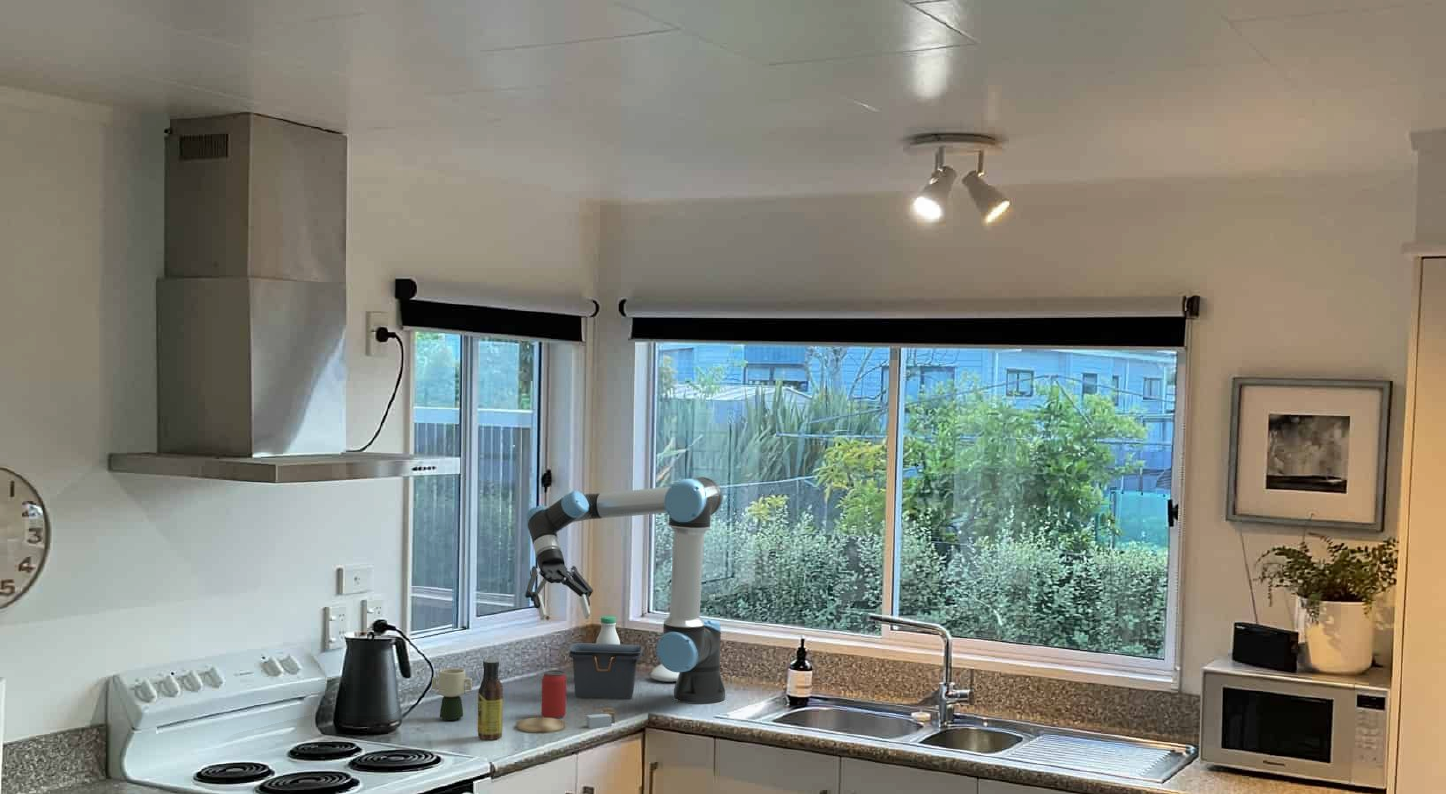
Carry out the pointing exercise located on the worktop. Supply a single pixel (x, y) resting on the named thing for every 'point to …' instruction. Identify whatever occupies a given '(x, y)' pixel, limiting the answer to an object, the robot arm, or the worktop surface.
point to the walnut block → (609, 712)
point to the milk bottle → (608, 631)
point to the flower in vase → (664, 674)
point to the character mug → (451, 691)
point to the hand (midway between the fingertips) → (565, 616)
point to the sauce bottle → (490, 702)
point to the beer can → (553, 694)
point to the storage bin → (604, 669)
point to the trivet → (540, 725)
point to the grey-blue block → (599, 720)
